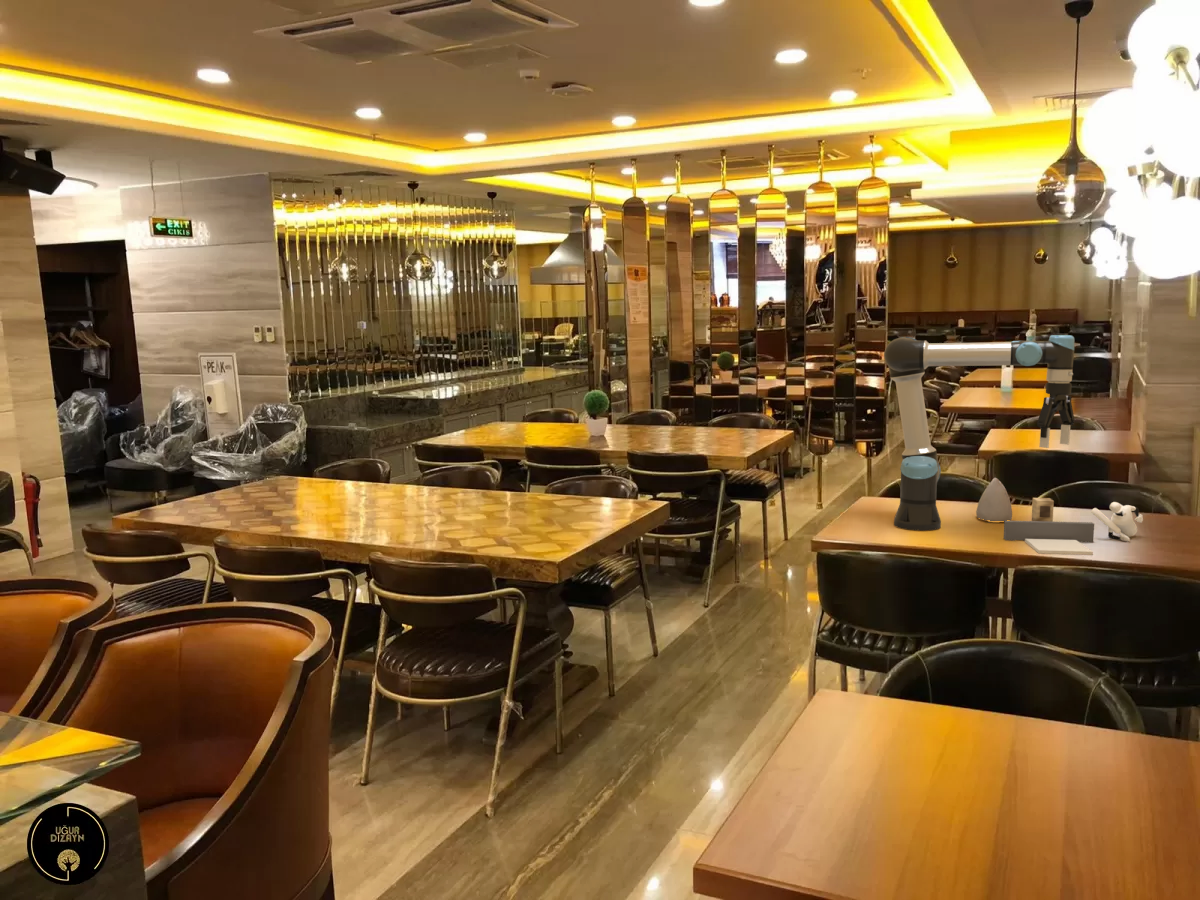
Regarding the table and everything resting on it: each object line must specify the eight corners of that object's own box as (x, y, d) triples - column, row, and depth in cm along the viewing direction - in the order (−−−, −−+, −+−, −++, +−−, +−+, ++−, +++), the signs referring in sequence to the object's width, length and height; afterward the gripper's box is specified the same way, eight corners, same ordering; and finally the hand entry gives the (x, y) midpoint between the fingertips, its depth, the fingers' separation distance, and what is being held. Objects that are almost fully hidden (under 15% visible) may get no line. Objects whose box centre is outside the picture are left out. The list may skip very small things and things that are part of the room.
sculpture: (1020, 522, 315) (1022, 479, 313) (990, 524, 313) (992, 481, 311) (996, 515, 328) (998, 474, 326) (967, 517, 325) (969, 475, 323)
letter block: (1035, 537, 293) (1037, 500, 292) (1030, 533, 298) (1032, 497, 297) (1052, 537, 292) (1053, 501, 291) (1047, 534, 297) (1049, 498, 296)
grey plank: (1005, 540, 290) (1006, 521, 289) (1003, 538, 292) (1004, 520, 291) (1093, 542, 285) (1094, 523, 284) (1090, 540, 287) (1092, 522, 286)
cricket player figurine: (1131, 554, 288) (1115, 527, 280) (1103, 539, 297) (1088, 513, 289) (1160, 525, 288) (1145, 497, 280) (1132, 512, 297) (1117, 484, 289)
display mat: (1038, 553, 273) (1039, 550, 273) (1024, 541, 287) (1025, 538, 287) (1092, 554, 270) (1092, 551, 270) (1075, 543, 285) (1076, 539, 285)
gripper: (1051, 384, 290) (1046, 450, 293) (1088, 381, 305) (1083, 443, 308) (1028, 383, 296) (1024, 447, 299) (1066, 380, 311) (1061, 441, 314)
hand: (1054, 445), depth 303 cm, fingers open, 13 cm apart
